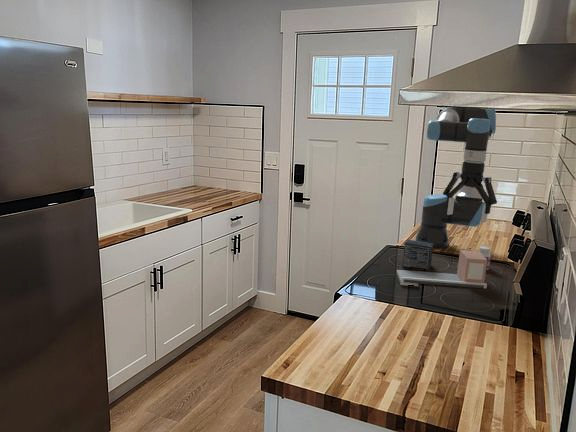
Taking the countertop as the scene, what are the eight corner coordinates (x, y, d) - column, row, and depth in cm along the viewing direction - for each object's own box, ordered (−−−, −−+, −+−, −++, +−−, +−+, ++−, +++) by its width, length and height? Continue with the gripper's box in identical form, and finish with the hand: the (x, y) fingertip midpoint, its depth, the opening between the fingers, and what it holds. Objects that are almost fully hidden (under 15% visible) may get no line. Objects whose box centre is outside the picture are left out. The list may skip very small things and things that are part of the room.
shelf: (396, 272, 187) (397, 265, 187) (475, 278, 185) (476, 271, 184) (400, 285, 175) (401, 277, 174) (486, 291, 172) (487, 284, 172)
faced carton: (456, 275, 184) (460, 250, 182) (475, 276, 184) (479, 251, 181) (463, 284, 174) (467, 258, 172) (483, 286, 174) (487, 260, 171)
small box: (431, 267, 195) (434, 242, 193) (428, 272, 189) (431, 247, 187) (405, 263, 199) (407, 238, 197) (401, 267, 194) (404, 242, 191)
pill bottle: (489, 273, 191) (493, 250, 189) (475, 272, 192) (479, 249, 190) (487, 269, 196) (490, 246, 194) (473, 267, 197) (476, 245, 195)
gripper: (438, 158, 182) (431, 212, 188) (502, 167, 165) (493, 227, 170) (448, 156, 187) (441, 210, 193) (512, 165, 170) (503, 223, 175)
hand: (466, 218), depth 181 cm, fingers open, 13 cm apart
